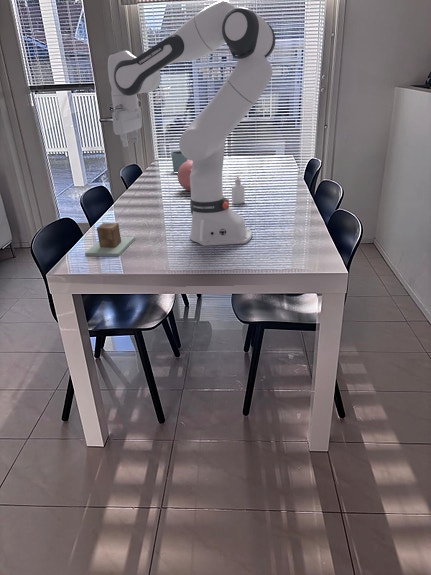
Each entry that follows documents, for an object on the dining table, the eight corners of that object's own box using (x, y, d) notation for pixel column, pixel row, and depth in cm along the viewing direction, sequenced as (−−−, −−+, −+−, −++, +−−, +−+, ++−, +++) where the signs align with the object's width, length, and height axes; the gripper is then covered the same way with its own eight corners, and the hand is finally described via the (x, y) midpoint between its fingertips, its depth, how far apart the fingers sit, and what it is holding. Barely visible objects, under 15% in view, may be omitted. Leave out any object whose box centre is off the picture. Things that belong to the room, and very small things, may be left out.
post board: (135, 239, 157) (132, 222, 154) (119, 256, 143) (116, 237, 140) (104, 239, 159) (101, 222, 156) (85, 255, 145) (81, 237, 142)
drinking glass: (174, 170, 267) (173, 150, 262) (190, 170, 266) (189, 150, 261) (171, 174, 258) (169, 153, 253) (187, 173, 257) (185, 153, 252)
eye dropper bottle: (232, 201, 196) (231, 175, 191) (244, 201, 196) (244, 175, 190) (231, 204, 192) (230, 177, 187) (244, 204, 192) (243, 177, 186)
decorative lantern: (179, 198, 206) (176, 165, 200) (178, 188, 224) (175, 158, 217) (211, 196, 207) (209, 163, 201) (207, 186, 225) (206, 156, 218)
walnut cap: (121, 241, 152) (118, 223, 149) (115, 247, 147) (112, 228, 144) (106, 241, 153) (103, 222, 150) (100, 247, 148) (96, 228, 145)
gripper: (123, 105, 141) (128, 148, 148) (143, 101, 159) (147, 140, 166) (105, 106, 143) (111, 149, 149) (126, 102, 160) (131, 140, 167)
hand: (130, 144), depth 157 cm, fingers open, 8 cm apart
